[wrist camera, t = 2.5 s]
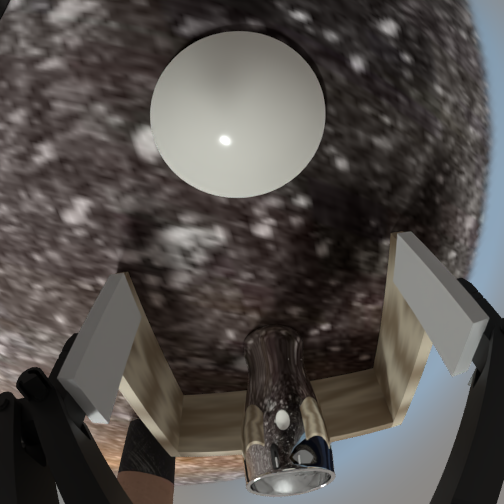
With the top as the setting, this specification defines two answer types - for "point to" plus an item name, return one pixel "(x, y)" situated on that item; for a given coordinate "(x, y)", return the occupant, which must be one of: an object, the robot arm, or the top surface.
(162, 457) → the travel mug
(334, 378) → the open side box
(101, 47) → the top surface
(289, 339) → the beer glass
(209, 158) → the coaster
